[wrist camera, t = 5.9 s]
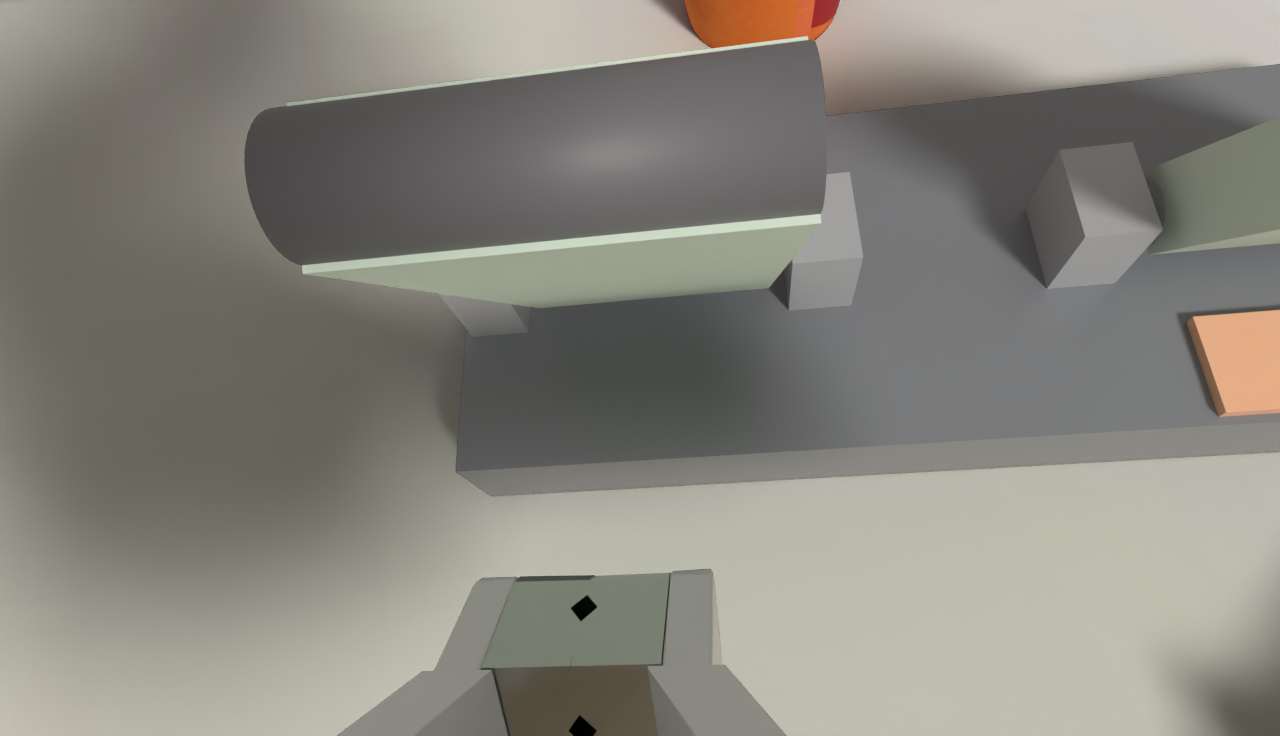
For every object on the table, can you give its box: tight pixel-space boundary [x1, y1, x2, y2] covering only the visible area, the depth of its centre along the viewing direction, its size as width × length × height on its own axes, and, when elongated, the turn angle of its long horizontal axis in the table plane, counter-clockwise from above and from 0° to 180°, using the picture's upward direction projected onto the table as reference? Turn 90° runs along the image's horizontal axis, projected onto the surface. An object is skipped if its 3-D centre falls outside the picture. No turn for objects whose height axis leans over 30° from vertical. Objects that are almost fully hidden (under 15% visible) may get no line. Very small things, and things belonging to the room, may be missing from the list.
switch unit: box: [439, 64, 1280, 496], centre depth 20 cm, size 26×10×5 cm, turn 91°
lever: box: [245, 36, 827, 308], centre depth 14 cm, size 6×2×13 cm, turn 91°
